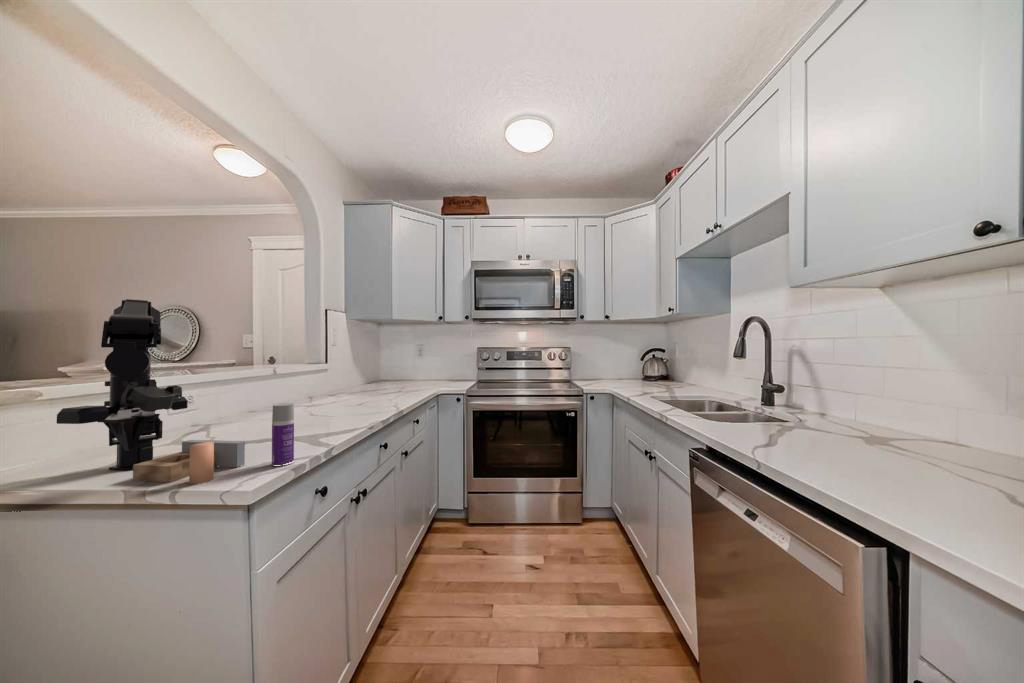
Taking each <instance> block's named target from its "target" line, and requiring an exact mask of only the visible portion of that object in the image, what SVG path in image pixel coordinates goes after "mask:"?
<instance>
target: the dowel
mask: <svg viewBox="0 0 1024 683" xmlns="http://www.w3.org/2000/svg"><path fill="white" fill-rule="evenodd" d="M214 470H215V468H214V442H204V443H198V444H193V445H191V446H190V464H189V478H188V480H189V481H188V482H189V483H190V485H199V484H198V483H200V484H205V483H209V482H210V481H213V480H214ZM204 482H205V483H204ZM189 483H188V484H189Z"/></svg>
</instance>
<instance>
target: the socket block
mask: <svg viewBox="0 0 1024 683" xmlns="http://www.w3.org/2000/svg"><path fill="white" fill-rule="evenodd" d="M189 464H190V452H182V451H181V452H177V453H173V454H169V455H165V456H162V457H161V456H160V457H158V458H153V460H150V461H146V462H142V463H138V464H134V465H133V469H132V481H133V480H137V481H136V482H152V483H153V482H155V483H174V482H176V480H177V481H180V480H182V479H181V478H183V479H184V478H185V477H186V478H188V476H189ZM214 467H216V453H214ZM216 468H217V467H216ZM186 478H185V479H186ZM179 479H180V480H179Z"/></svg>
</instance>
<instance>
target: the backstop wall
mask: <svg viewBox="0 0 1024 683" xmlns="http://www.w3.org/2000/svg"><path fill="white" fill-rule="evenodd" d="M204 442H214V453H216V466H219V467H218V468H228V467H238V468H240V467H239V466H241V465H244V464H245V460H246V459H245V456H246V455H245V450H246V445H245V444H246V442H245V441H244V440H219V439H218V440H215V439H212V440H211V439H205V440H204V439H189V440H185V441H181V452H190V446H191V445H193V444H198V443H204ZM244 466H245V465H244ZM241 467H242V466H241Z"/></svg>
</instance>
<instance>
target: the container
mask: <svg viewBox="0 0 1024 683" xmlns="http://www.w3.org/2000/svg"><path fill="white" fill-rule="evenodd" d="M294 408H295V407H294V403H292V402H291V403H289V402H287V403H275V404H273V405H272V417H271V418H272V419H271V420H272V421H271V466H272V465H283V464H286V463H289V462H292V461H293V460H294V461H295V414H294V412H295V411H294V410H295V409H294Z"/></svg>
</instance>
